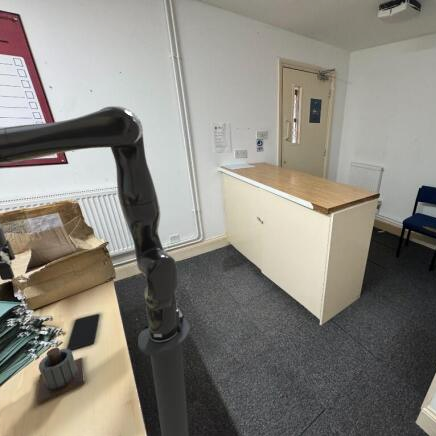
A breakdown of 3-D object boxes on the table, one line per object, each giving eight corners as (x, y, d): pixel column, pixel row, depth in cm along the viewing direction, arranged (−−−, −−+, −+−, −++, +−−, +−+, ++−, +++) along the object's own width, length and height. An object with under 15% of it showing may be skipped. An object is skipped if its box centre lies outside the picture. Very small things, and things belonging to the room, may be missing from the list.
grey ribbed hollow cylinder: (76, 362, 70) (71, 345, 67) (77, 379, 66) (72, 361, 63) (46, 375, 66) (39, 357, 63) (44, 393, 61) (37, 375, 59)
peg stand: (82, 359, 72) (74, 332, 68) (84, 383, 66) (76, 354, 62) (40, 377, 66) (29, 348, 62) (38, 404, 60) (26, 374, 56)
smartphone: (65, 351, 73) (75, 319, 85) (66, 353, 74) (76, 320, 86) (93, 343, 77) (99, 313, 89) (94, 345, 77) (99, 314, 89)
